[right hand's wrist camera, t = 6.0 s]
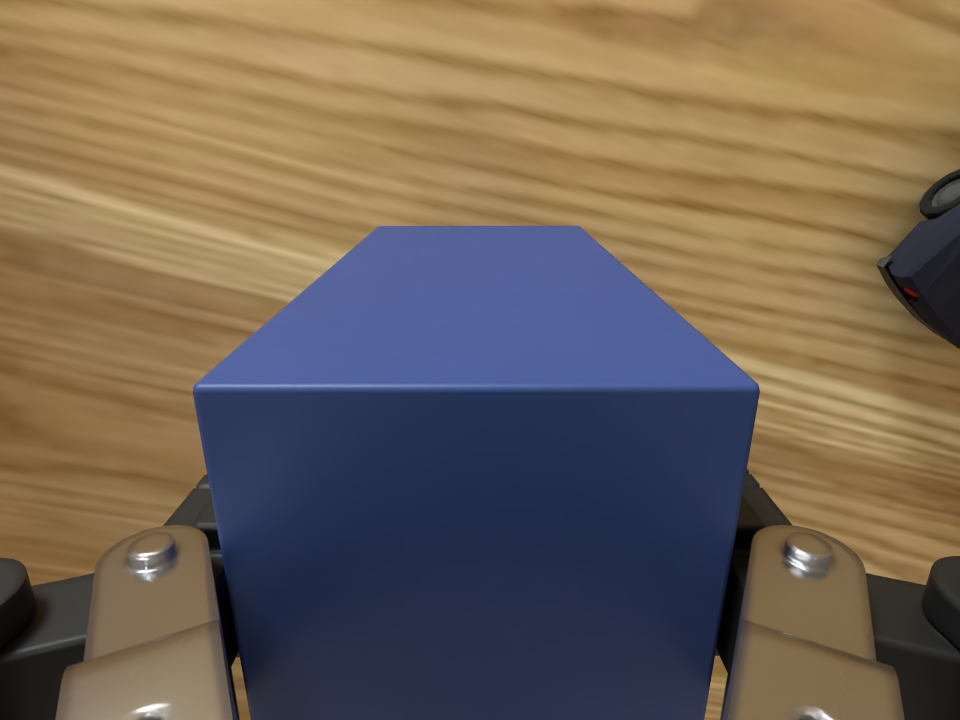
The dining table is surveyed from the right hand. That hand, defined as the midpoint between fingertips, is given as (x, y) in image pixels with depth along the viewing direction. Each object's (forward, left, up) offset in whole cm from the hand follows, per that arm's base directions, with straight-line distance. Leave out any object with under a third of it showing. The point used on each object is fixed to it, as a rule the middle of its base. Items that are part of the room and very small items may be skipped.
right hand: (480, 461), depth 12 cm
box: (0, +10, -9) cm, 13 cm away
